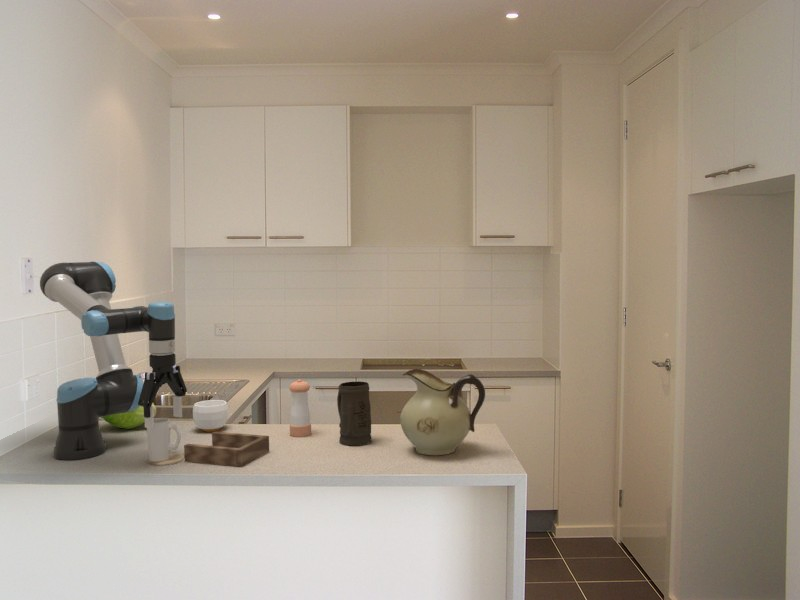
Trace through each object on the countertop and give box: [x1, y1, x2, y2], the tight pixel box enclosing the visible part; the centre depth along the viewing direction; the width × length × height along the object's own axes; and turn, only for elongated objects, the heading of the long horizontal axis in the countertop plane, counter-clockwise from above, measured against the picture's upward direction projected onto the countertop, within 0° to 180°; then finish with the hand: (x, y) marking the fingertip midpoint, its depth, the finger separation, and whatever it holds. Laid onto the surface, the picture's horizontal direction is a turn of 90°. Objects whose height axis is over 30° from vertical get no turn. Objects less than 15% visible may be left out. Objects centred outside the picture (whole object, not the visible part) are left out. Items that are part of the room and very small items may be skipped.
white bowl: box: [192, 399, 229, 433], centre depth 250 cm, size 12×12×10 cm
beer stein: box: [336, 380, 373, 447], centre depth 232 cm, size 15×11×20 cm
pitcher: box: [399, 368, 486, 456], centre depth 219 cm, size 22×24×25 cm
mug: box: [146, 417, 182, 462], centre depth 212 cm, size 10×7×12 cm, turn 88°
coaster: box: [148, 453, 185, 466], centre depth 213 cm, size 10×10×1 cm
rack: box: [183, 431, 270, 468], centre depth 217 cm, size 20×17×5 cm
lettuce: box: [102, 402, 157, 430], centre depth 255 cm, size 17×20×15 cm
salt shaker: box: [288, 379, 312, 438], centre depth 241 cm, size 7×7×19 cm
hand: (164, 422), depth 213 cm, fingers open, 13 cm apart
